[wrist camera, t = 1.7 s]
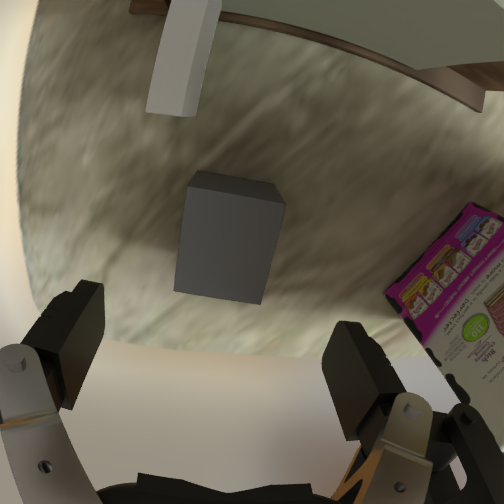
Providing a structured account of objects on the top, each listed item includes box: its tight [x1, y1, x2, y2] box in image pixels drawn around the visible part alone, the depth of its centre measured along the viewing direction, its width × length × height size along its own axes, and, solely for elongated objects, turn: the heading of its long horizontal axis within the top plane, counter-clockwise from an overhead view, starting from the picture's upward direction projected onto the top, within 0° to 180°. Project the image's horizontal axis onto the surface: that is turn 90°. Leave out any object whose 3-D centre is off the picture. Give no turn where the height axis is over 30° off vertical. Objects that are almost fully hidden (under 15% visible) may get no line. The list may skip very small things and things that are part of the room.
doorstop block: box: [174, 170, 286, 305], centre depth 19 cm, size 5×6×5 cm
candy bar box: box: [384, 202, 504, 455], centre depth 16 cm, size 11×5×16 cm, turn 137°
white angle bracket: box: [145, 0, 504, 117], centre depth 11 cm, size 16×8×12 cm, turn 78°
